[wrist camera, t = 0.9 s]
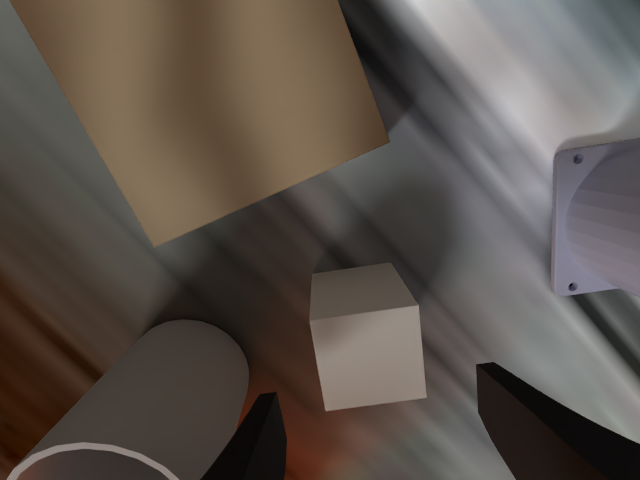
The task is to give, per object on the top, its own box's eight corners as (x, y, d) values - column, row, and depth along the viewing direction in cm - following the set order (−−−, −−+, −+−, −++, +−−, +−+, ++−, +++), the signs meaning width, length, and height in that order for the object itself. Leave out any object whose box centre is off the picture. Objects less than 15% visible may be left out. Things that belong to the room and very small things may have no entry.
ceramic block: (390, 262, 19) (418, 305, 14) (398, 332, 20) (426, 397, 15) (311, 273, 19) (309, 320, 14) (323, 343, 20) (325, 411, 15)
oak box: (280, -114, 15) (271, -177, 12) (378, 143, 18) (390, 141, 15) (54, 9, 16) (-3, -21, 13) (179, 232, 19) (154, 247, 16)
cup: (262, 330, 20) (219, 465, 11) (231, 461, 23) (177, 653, 14) (140, 303, 20) (-1, 423, 11) (122, 439, 22) (-4, 625, 13)
